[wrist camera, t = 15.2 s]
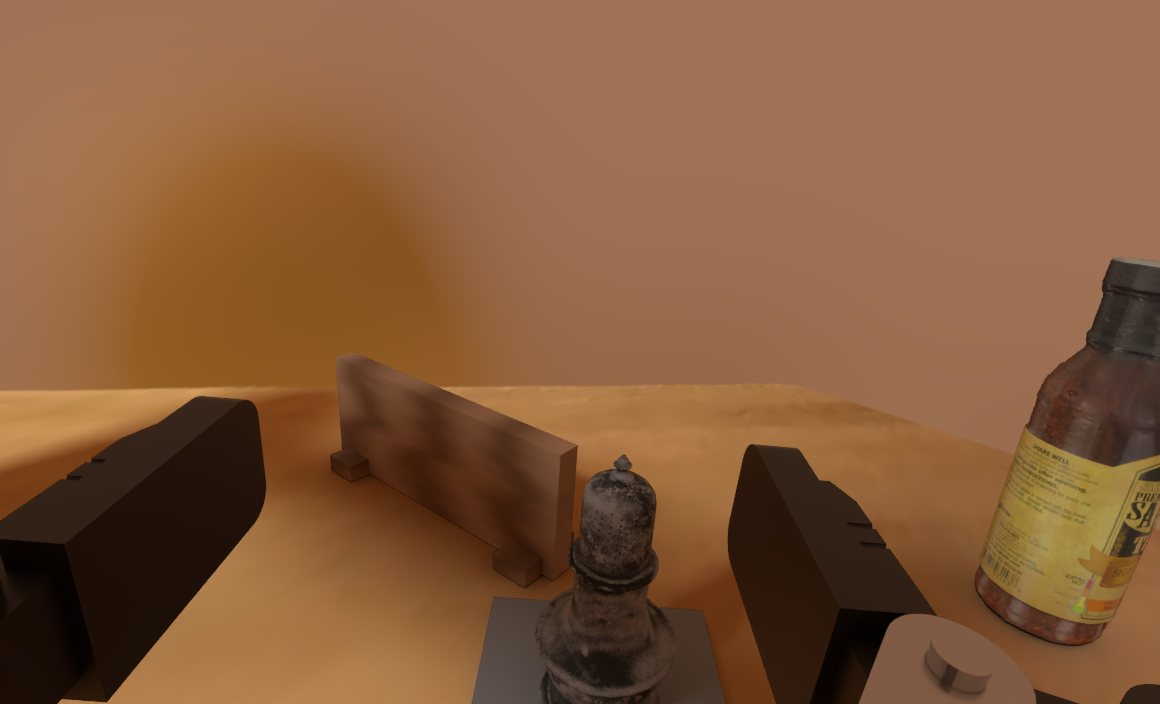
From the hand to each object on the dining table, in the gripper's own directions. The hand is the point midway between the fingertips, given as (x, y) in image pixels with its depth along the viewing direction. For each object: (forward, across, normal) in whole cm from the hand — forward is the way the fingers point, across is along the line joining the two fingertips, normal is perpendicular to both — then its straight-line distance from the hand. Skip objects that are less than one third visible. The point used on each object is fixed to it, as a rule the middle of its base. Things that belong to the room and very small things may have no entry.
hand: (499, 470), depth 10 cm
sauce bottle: (+18, -29, +18) cm, 39 cm away
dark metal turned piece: (+10, -4, +18) cm, 21 cm away
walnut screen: (+25, +6, +19) cm, 32 cm away
